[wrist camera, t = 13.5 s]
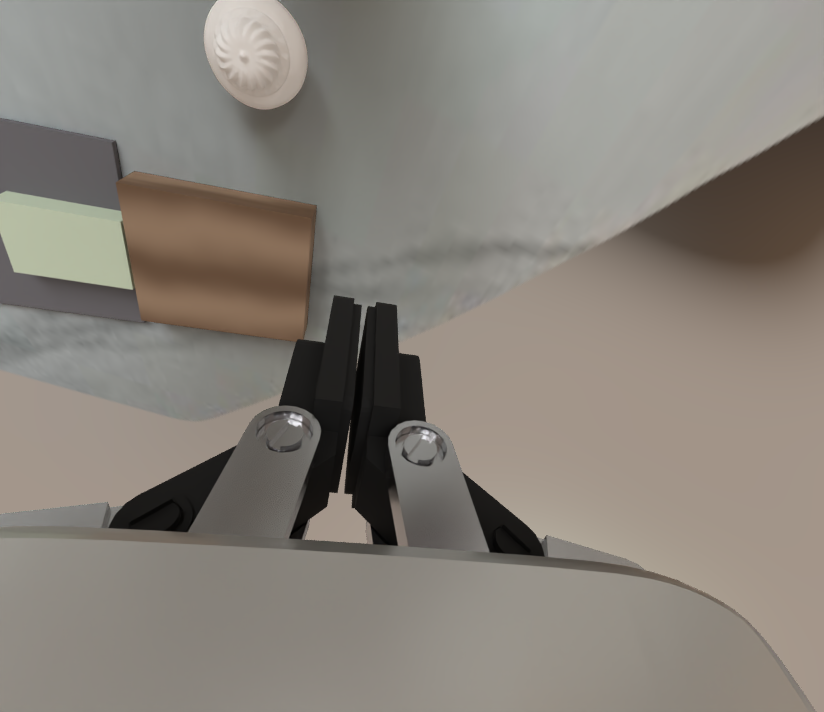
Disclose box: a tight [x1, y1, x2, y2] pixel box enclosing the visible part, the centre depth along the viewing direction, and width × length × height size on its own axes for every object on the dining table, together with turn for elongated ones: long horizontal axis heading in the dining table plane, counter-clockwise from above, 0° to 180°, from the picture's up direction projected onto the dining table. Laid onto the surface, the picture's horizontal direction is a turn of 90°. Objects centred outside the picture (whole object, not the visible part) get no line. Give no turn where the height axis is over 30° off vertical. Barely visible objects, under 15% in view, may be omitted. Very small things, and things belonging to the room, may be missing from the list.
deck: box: [116, 171, 317, 342], centre depth 38 cm, size 12×14×3 cm
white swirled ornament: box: [204, 0, 308, 110], centre depth 27 cm, size 6×6×7 cm
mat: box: [0, 118, 145, 323], centre depth 36 cm, size 16×16×1 cm
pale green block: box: [0, 191, 135, 290], centre depth 36 cm, size 9×6×2 cm, turn 78°
